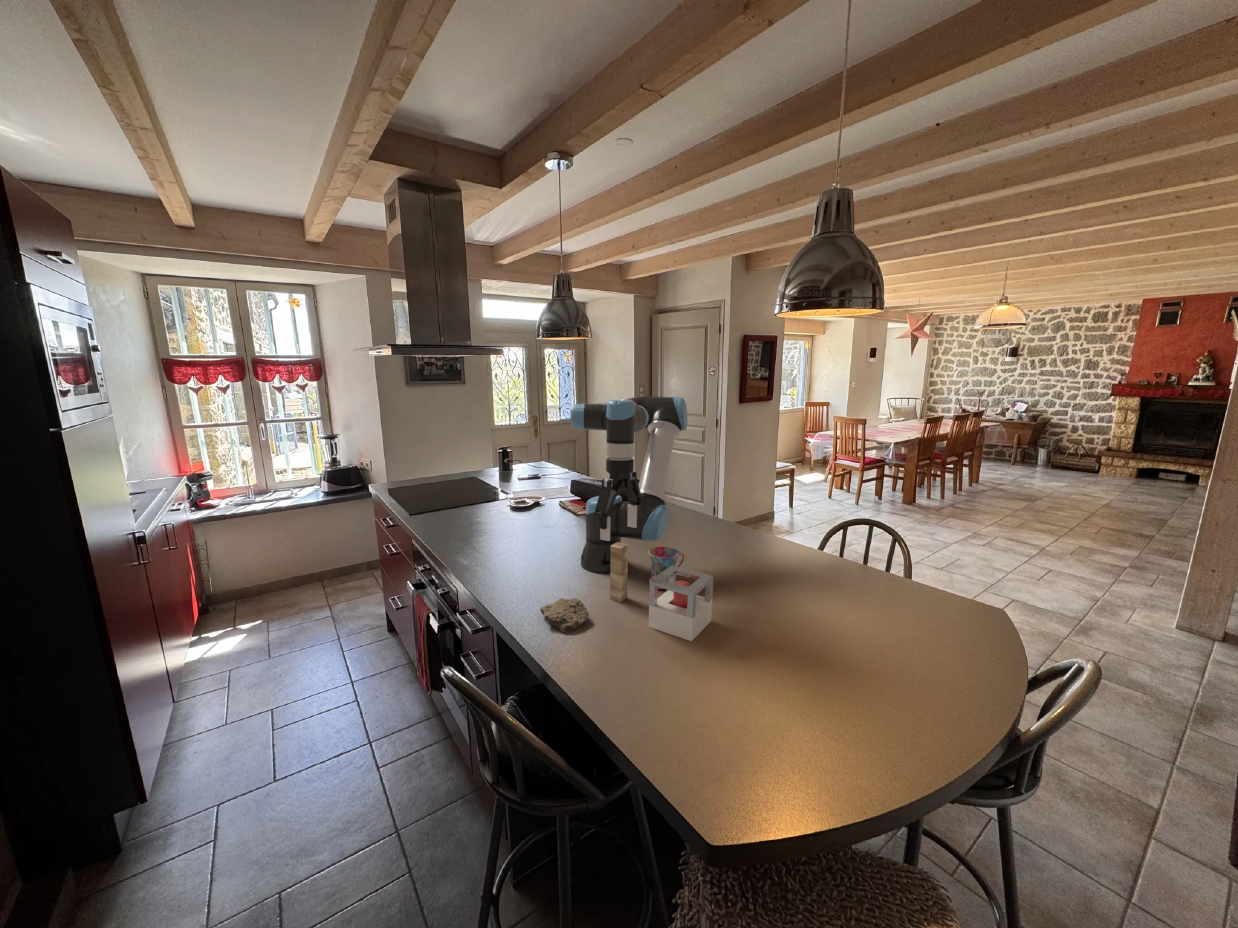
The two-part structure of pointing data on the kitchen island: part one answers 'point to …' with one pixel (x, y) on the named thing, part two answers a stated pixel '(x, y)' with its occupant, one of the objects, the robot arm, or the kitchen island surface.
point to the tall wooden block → (618, 571)
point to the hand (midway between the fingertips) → (619, 533)
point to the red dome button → (681, 596)
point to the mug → (663, 559)
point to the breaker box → (679, 617)
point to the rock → (565, 614)
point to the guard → (682, 586)
